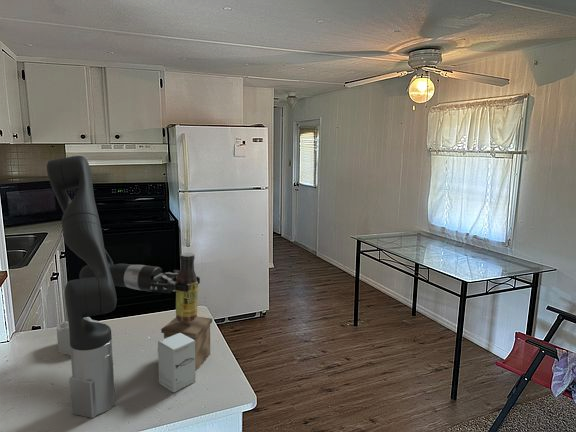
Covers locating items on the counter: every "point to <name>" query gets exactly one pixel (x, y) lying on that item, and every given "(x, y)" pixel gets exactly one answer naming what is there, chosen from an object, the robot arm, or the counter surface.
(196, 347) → the brown wooden box
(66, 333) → the lumpy-topped squat cylinder
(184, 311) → the sauce bottle
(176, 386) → the supplement box
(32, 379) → the counter surface
